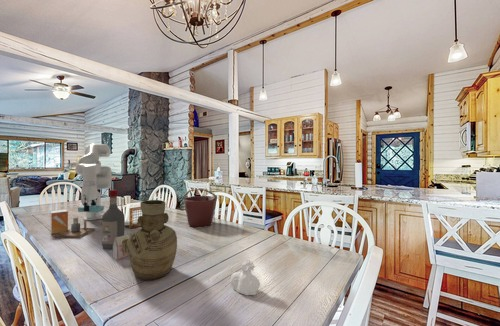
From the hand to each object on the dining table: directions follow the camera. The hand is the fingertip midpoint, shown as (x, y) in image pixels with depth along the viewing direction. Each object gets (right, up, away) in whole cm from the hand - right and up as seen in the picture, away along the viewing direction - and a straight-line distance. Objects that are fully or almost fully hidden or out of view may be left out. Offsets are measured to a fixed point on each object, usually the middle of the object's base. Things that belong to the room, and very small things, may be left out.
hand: (90, 209), depth 158 cm
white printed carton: (+47, -14, -46) cm, 67 cm away
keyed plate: (0, -1, 0) cm, 1 cm away
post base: (+1, -12, -15) cm, 19 cm away
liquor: (+35, -13, -33) cm, 50 cm away
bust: (+107, -15, -72) cm, 130 cm away
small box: (-12, -12, -11) cm, 20 cm away
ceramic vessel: (+68, -14, -61) cm, 92 cm away
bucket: (+72, -12, +10) cm, 74 cm away
